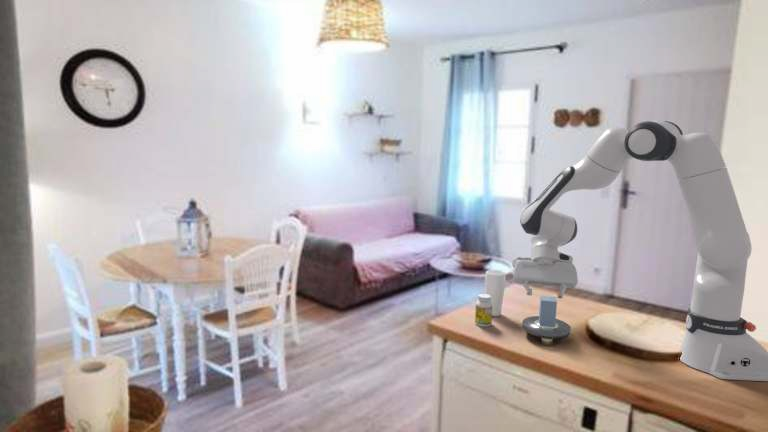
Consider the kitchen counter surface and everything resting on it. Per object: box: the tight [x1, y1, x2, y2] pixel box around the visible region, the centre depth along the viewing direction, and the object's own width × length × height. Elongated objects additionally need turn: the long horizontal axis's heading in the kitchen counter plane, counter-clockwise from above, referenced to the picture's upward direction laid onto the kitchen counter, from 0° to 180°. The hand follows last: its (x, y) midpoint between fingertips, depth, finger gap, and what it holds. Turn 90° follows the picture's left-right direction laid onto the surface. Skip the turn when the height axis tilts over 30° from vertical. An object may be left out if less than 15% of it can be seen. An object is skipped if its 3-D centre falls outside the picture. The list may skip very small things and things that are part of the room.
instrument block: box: [538, 295, 558, 327], centre depth 141 cm, size 4×4×8 cm
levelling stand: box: [521, 315, 572, 347], centre depth 142 cm, size 14×14×5 cm
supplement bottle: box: [474, 293, 493, 327], centre depth 151 cm, size 5×5×10 cm
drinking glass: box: [484, 269, 507, 317], centre depth 159 cm, size 7×7×15 cm
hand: (544, 296), depth 149 cm, fingers open, 8 cm apart
